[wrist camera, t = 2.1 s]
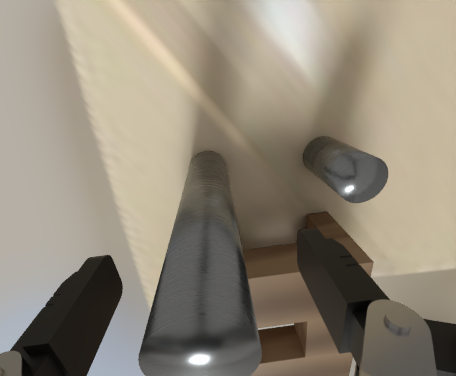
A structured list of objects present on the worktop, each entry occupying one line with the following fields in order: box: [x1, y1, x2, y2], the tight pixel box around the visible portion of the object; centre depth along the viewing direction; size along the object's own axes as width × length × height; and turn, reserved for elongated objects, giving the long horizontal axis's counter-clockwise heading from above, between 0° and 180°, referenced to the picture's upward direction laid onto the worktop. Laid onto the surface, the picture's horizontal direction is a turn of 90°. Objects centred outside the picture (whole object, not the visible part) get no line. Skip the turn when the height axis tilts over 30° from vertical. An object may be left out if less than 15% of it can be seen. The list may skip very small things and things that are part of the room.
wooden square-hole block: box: [243, 212, 373, 376], centre depth 22 cm, size 16×14×7 cm
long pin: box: [138, 151, 262, 376], centre depth 13 cm, size 3×3×15 cm
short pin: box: [303, 136, 388, 203], centre depth 17 cm, size 3×3×6 cm
